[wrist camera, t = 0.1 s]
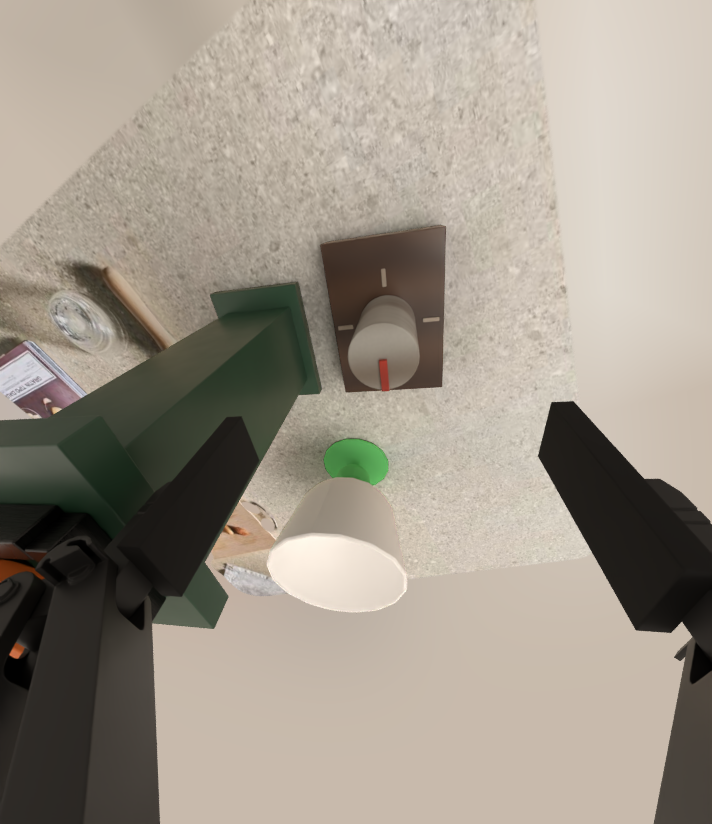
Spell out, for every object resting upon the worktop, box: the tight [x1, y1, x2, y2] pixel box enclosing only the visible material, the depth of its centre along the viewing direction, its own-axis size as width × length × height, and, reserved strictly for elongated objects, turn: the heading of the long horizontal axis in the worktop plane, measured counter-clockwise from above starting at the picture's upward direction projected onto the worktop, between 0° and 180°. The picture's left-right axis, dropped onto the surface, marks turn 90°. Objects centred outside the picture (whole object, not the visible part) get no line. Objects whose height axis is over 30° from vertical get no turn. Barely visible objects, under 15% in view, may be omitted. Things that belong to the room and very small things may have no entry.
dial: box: [348, 295, 420, 391], centre depth 24 cm, size 5×5×8 cm
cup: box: [266, 439, 407, 613], centre depth 35 cm, size 14×14×16 cm
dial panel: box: [320, 225, 446, 392], centre depth 29 cm, size 14×10×3 cm
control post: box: [0, 282, 322, 629], centre depth 23 cm, size 12×9×26 cm
